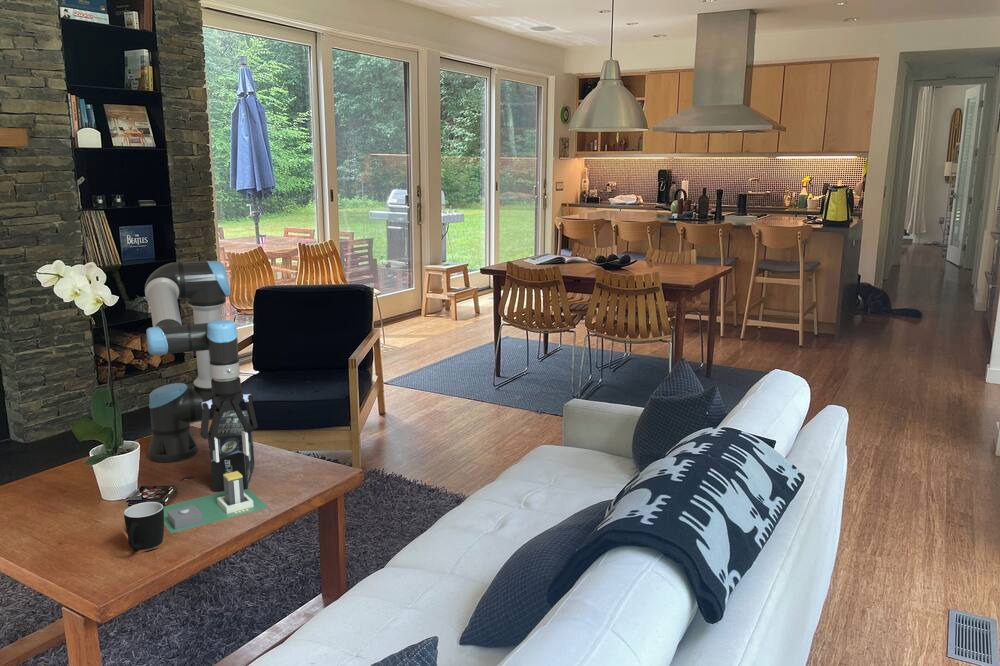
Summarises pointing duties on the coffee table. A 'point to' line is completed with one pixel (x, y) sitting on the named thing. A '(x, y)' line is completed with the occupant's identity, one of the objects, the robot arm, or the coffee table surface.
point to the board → (207, 510)
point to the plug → (233, 488)
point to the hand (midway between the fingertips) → (231, 457)
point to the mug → (144, 525)
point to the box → (231, 451)
